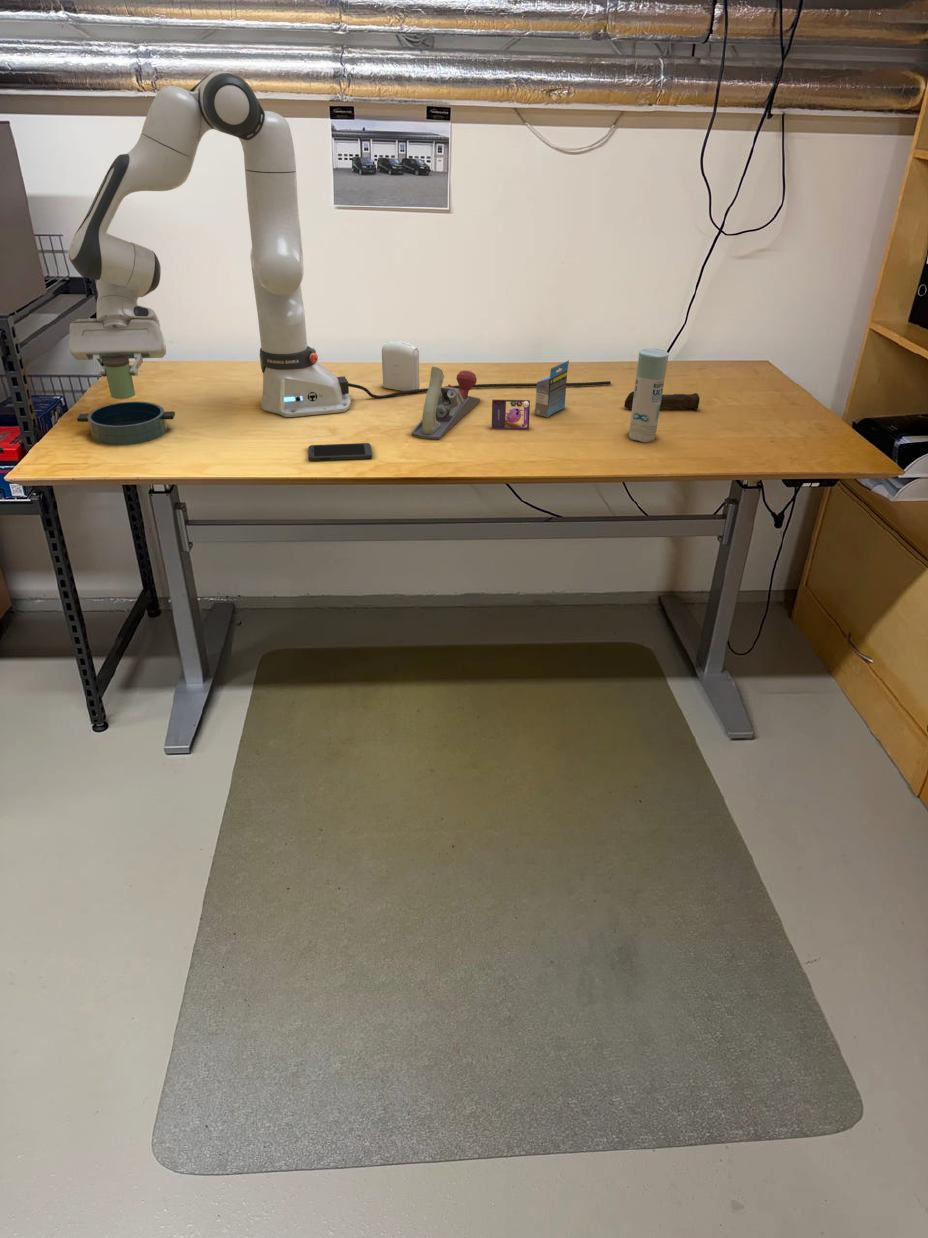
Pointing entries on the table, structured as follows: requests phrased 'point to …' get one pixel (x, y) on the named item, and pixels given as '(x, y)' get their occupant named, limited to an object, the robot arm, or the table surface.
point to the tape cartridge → (552, 392)
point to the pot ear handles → (166, 416)
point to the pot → (127, 423)
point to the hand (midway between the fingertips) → (118, 374)
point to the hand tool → (671, 401)
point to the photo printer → (400, 366)
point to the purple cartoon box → (512, 416)
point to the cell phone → (340, 451)
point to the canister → (119, 377)
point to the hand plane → (445, 404)
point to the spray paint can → (647, 394)
